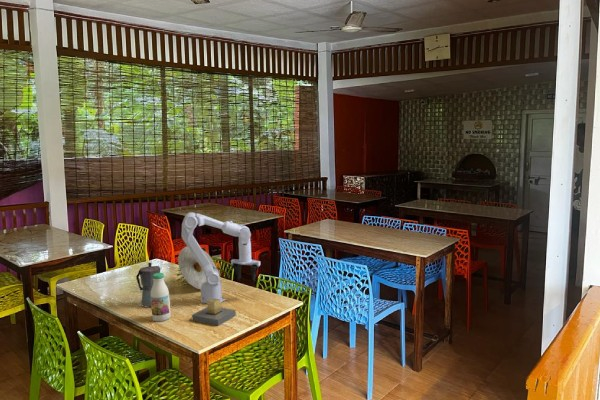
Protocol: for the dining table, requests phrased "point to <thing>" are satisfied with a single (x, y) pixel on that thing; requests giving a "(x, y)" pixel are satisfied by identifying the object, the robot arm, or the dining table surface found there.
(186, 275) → the disc
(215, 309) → the plug block
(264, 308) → the dining table surface
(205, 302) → the robot arm
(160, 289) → the milk bottle
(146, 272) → the moka pot
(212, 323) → the grey flat slab
